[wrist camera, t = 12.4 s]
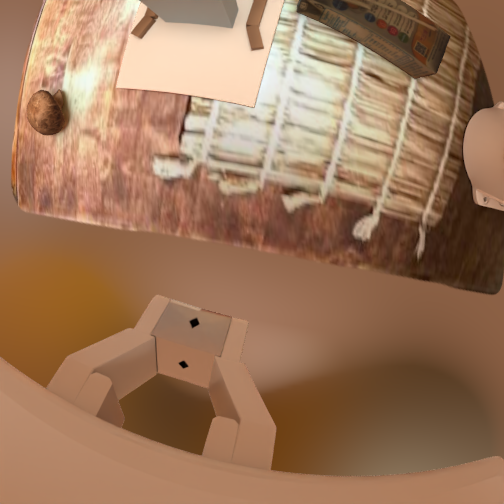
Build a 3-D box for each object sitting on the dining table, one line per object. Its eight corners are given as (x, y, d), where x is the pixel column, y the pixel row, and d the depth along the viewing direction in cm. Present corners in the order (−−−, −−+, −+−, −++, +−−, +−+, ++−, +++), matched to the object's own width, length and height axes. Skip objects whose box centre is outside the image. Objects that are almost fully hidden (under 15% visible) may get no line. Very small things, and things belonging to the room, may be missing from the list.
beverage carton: (316, -25, 24) (323, -46, 18) (432, 43, 27) (456, 36, 21) (293, 12, 27) (299, -7, 21) (416, 82, 30) (440, 78, 24)
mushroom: (58, 70, 27) (26, 94, 24) (85, 108, 33) (56, 134, 30) (42, 90, 32) (15, 113, 29) (66, 123, 37) (41, 148, 34)
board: (290, -19, 25) (291, -22, 24) (254, 107, 33) (253, 107, 32) (157, -30, 23) (155, -33, 22) (119, 88, 32) (116, 87, 31)
